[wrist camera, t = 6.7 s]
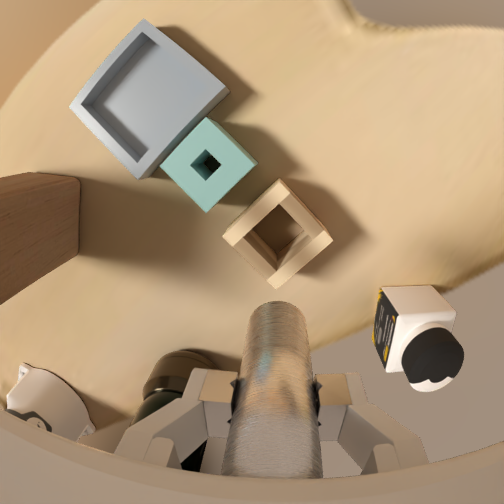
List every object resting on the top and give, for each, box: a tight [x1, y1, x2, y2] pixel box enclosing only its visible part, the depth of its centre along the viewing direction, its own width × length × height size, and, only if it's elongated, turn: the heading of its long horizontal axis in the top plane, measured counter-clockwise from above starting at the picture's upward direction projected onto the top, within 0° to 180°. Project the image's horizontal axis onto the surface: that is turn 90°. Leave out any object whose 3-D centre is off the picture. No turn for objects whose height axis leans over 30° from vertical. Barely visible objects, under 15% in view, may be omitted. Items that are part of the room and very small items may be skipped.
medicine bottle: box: [372, 285, 464, 392], centre depth 29 cm, size 7×7×12 cm
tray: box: [69, 18, 230, 180], centre depth 28 cm, size 12×12×3 cm
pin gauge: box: [221, 301, 323, 479], centre depth 9 cm, size 3×3×10 cm
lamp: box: [129, 351, 219, 472], centre depth 29 cm, size 10×10×22 cm
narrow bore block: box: [160, 117, 258, 213], centre depth 29 cm, size 6×6×5 cm
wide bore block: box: [222, 178, 333, 290], centre depth 30 cm, size 7×7×5 cm
